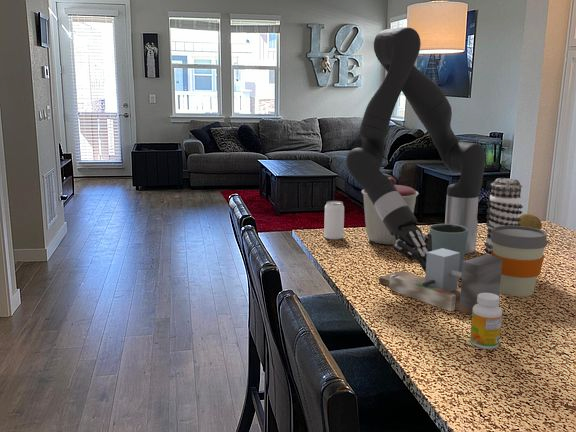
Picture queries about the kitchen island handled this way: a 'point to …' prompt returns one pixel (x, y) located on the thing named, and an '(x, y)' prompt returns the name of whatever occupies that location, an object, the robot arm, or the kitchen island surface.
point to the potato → (530, 221)
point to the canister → (373, 221)
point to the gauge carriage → (443, 269)
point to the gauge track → (475, 279)
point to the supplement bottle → (486, 321)
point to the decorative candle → (502, 207)
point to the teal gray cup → (450, 239)
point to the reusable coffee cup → (519, 257)
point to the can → (334, 220)
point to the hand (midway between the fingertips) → (431, 271)
